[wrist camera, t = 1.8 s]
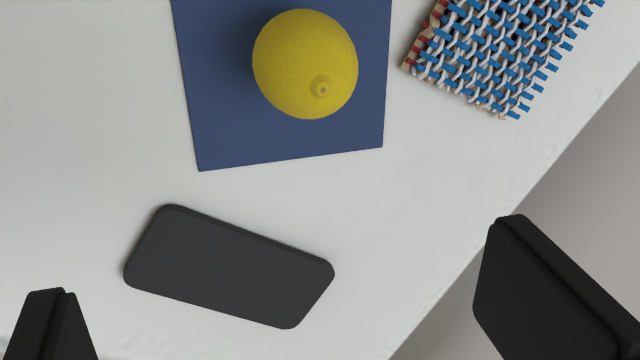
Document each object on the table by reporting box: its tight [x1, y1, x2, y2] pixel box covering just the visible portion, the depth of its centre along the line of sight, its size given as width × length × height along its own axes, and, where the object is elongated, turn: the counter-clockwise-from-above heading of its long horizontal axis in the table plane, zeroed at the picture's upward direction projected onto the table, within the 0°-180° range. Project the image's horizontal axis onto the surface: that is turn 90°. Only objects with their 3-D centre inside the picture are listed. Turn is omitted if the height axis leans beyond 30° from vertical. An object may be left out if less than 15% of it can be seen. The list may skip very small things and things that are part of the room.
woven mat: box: [400, 0, 605, 120], centre depth 32 cm, size 10×11×2 cm
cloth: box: [171, 0, 392, 172], centre depth 29 cm, size 18×13×1 cm
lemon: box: [252, 9, 358, 119], centre depth 26 cm, size 6×6×8 cm
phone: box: [123, 205, 335, 329], centre depth 37 cm, size 7×1×15 cm
